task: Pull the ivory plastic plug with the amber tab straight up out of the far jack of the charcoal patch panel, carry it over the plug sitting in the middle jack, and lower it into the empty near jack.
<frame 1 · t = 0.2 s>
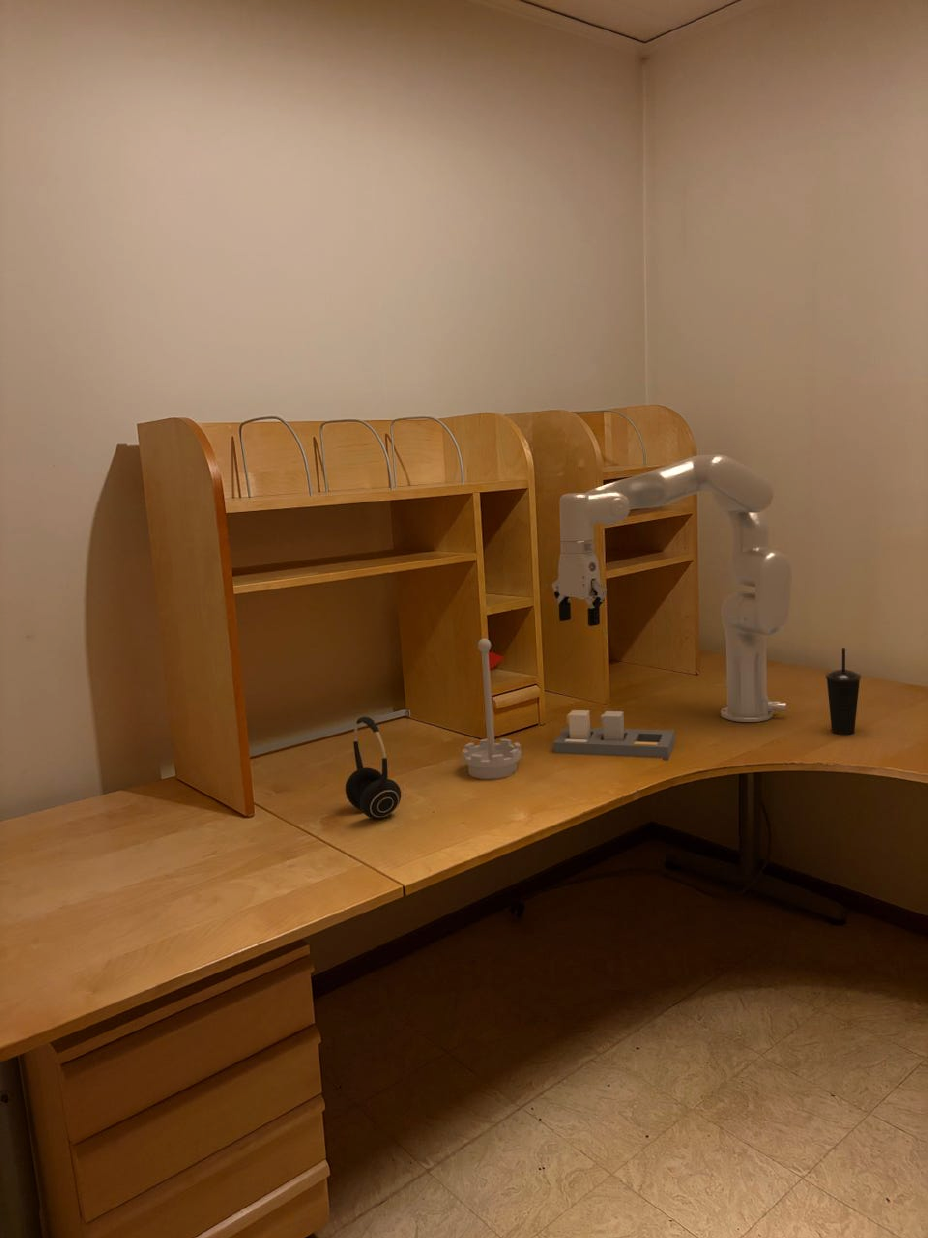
hand: (579, 622, 214), 30 cm above the table, tool pointing down, fingers open, 9 cm apart
drinking cup: (843, 733, 217), on the table
flag stand: (492, 771, 208), on the table
headphones: (375, 814, 188), on the table
ivory plug: (580, 745, 219), resting on patch panel
patch panel: (614, 748, 216), on the table
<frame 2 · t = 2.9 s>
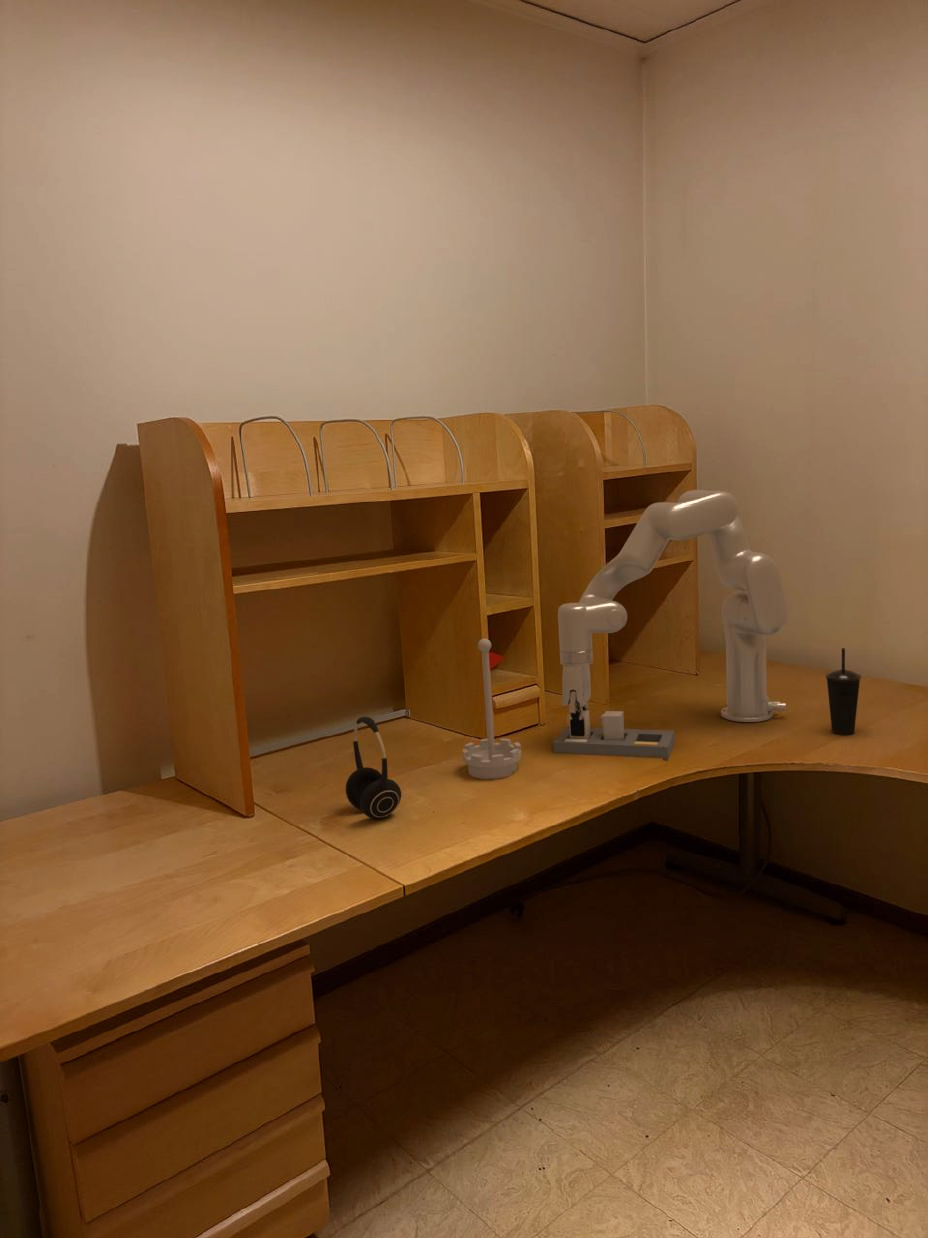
hand: (579, 731, 219), 4 cm above the table, tool pointing down, fingers closed on ivory plug, 4 cm apart
ivory plug: (580, 745, 219), point 1 cm above the table, touching gripper, patch panel
everything else where it was.
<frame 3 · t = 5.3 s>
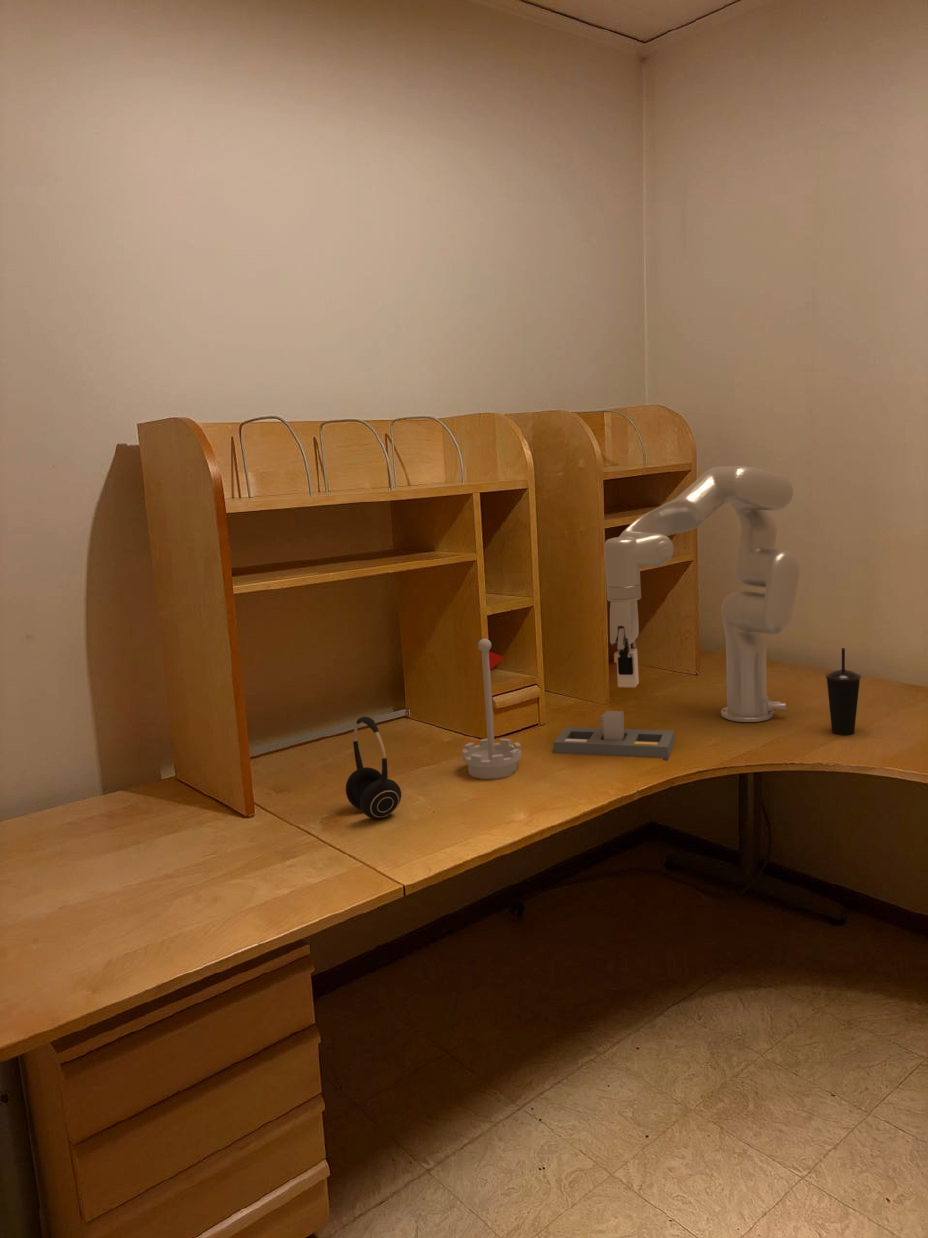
hand: (628, 670, 212), 19 cm above the table, tool pointing down, fingers closed on ivory plug, 4 cm apart
ivory plug: (628, 684, 213), point 15 cm above the table, touching gripper
everything else where it was.
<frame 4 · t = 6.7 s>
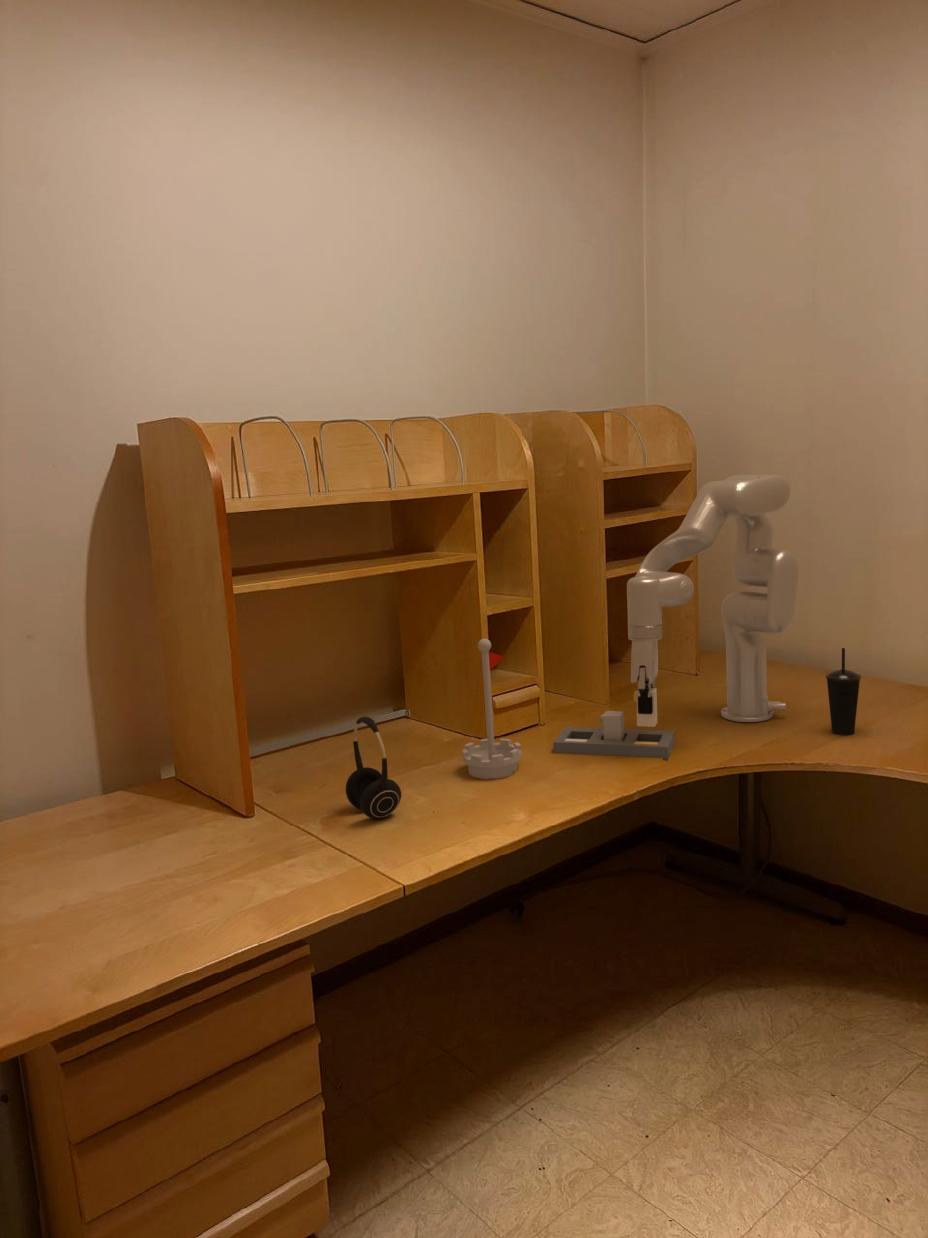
hand: (647, 710, 212), 10 cm above the table, tool pointing down, fingers closed on ivory plug, 4 cm apart
ivory plug: (647, 724, 212), point 6 cm above the table, touching gripper
everything else where it was.
when the fingers open (5 cm above the table, at t = 7.9 s): ivory plug drops 1 cm, resting on patch panel.
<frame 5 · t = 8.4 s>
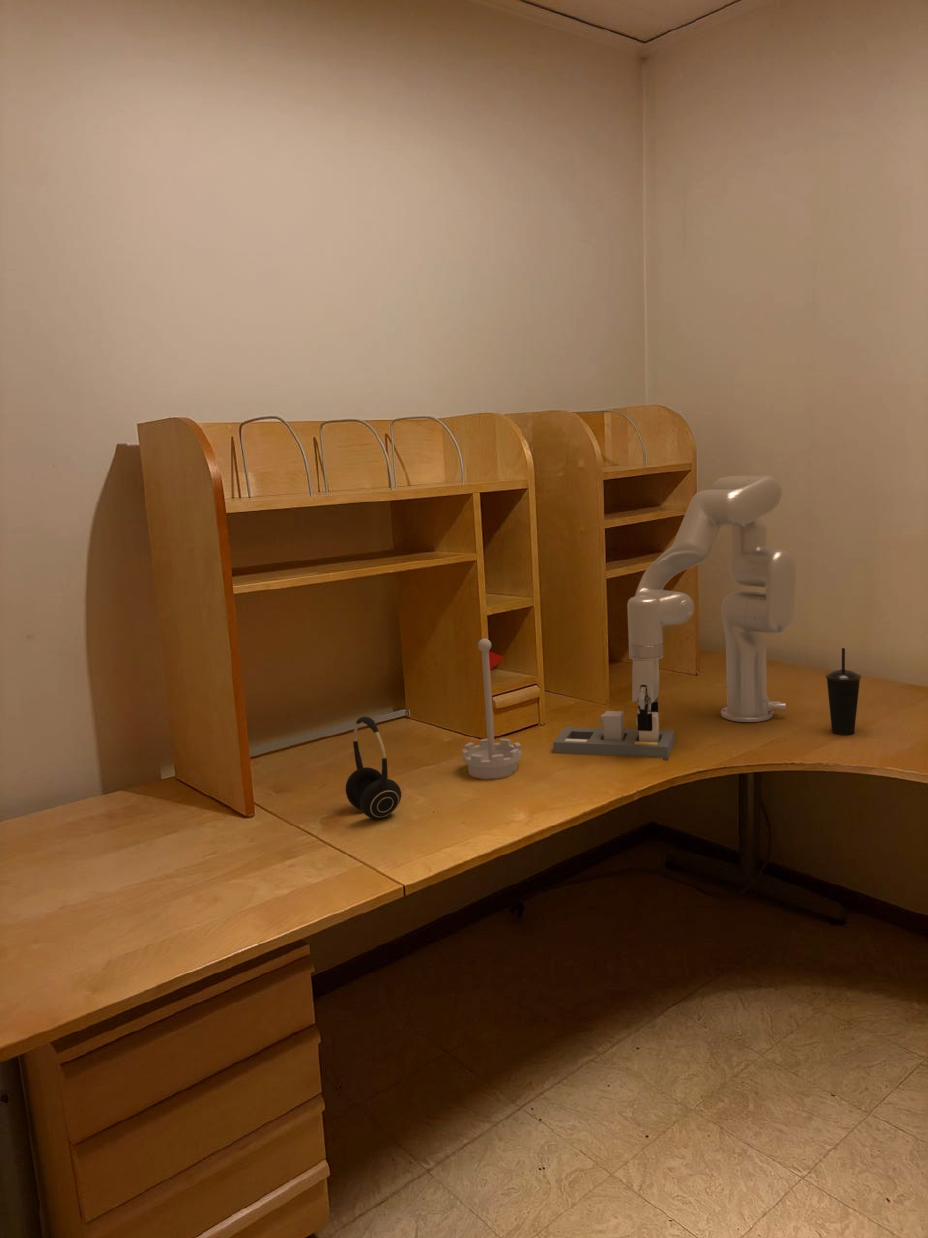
hand: (648, 724, 213), 6 cm above the table, tool pointing down, fingers open, 9 cm apart
ivory plug: (649, 748, 214), resting on patch panel
everything else where it was.
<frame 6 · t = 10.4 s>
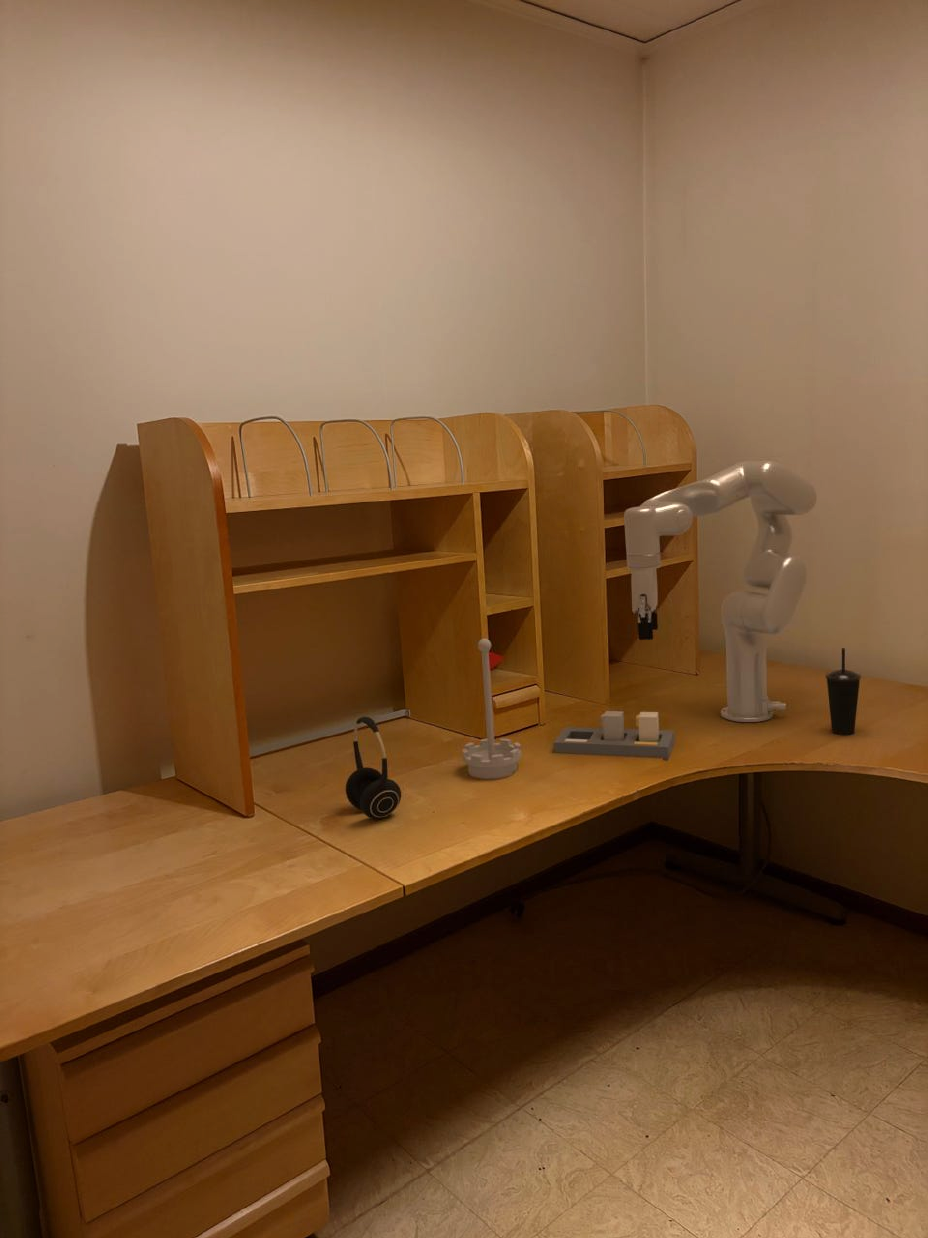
hand: (648, 634, 215), 26 cm above the table, tool pointing down, fingers open, 9 cm apart
nothing on the table moved.
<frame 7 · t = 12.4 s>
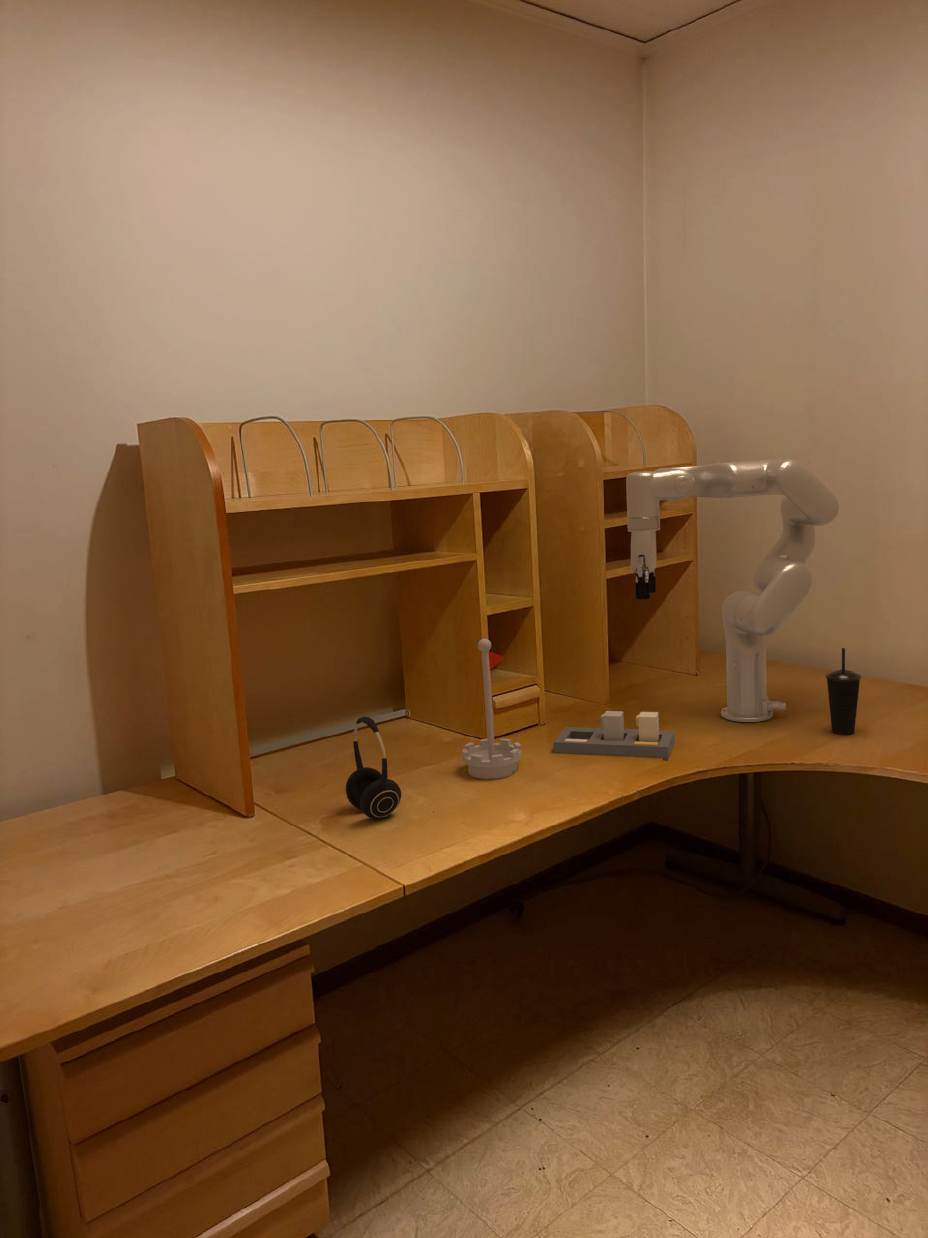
hand: (646, 595, 223), 33 cm above the table, tool pointing down, fingers open, 9 cm apart
nothing on the table moved.
at the end: ivory plug 0.1 cm from the target spot on the patch panel, point 0.5 cm above the patch panel's base; ivory plug tilted 0°; the gripper is holding nothing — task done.
